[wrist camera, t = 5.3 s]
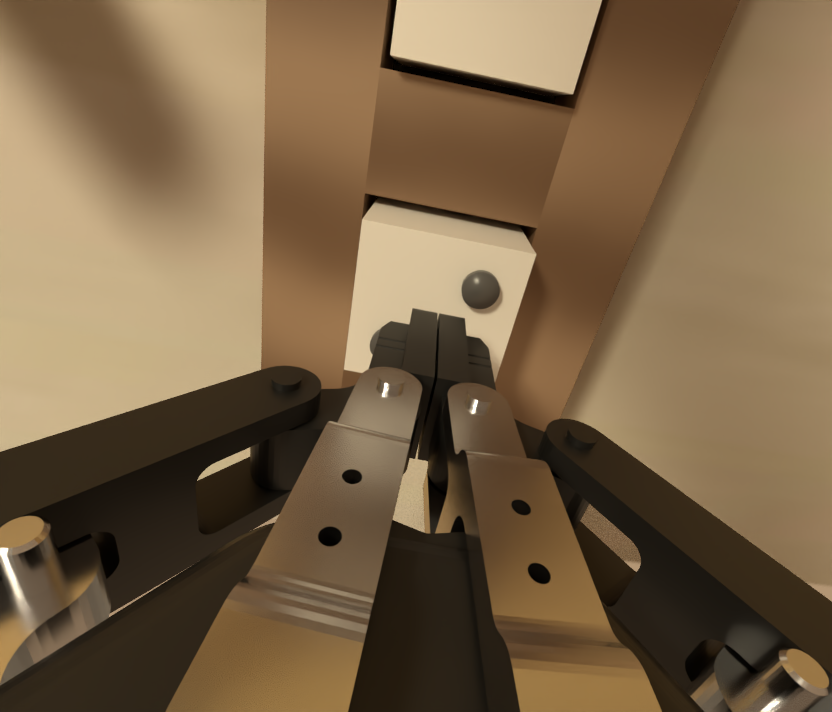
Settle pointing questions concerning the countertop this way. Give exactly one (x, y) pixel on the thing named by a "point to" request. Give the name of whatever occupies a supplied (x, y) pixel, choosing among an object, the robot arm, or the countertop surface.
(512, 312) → the button two
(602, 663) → the robot arm
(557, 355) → the button panel
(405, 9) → the button one
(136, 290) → the countertop surface
